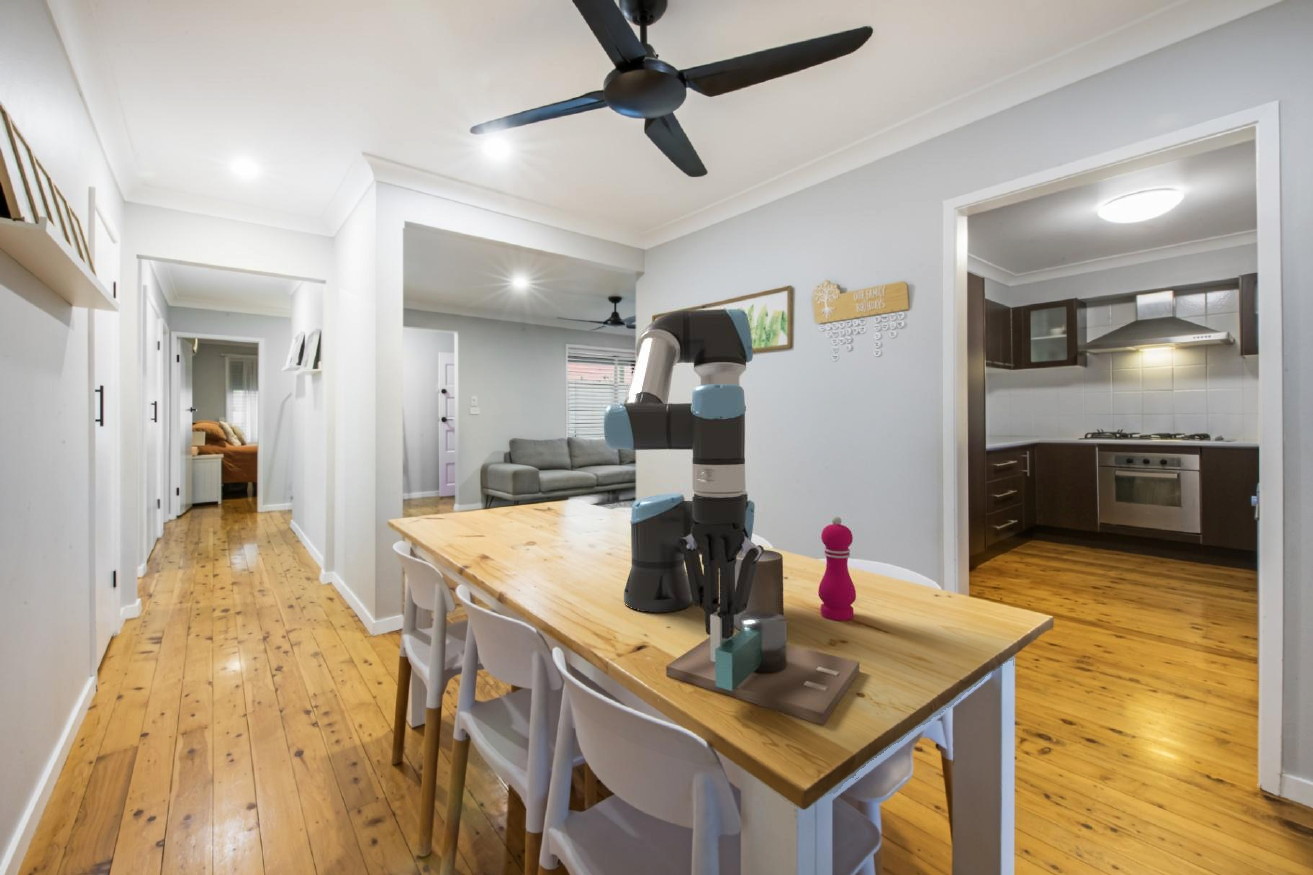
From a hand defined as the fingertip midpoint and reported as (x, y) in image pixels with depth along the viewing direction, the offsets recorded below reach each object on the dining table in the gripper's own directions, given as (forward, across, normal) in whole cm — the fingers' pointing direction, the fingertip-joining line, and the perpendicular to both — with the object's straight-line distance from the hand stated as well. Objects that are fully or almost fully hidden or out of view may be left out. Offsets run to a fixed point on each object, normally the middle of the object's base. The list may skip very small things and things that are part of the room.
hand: (719, 658), depth 75 cm
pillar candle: (+5, -6, +27) cm, 28 cm away
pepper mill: (+5, +4, +41) cm, 42 cm away
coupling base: (+5, +3, +9) cm, 11 cm away
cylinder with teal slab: (+3, +3, +4) cm, 6 cm away
